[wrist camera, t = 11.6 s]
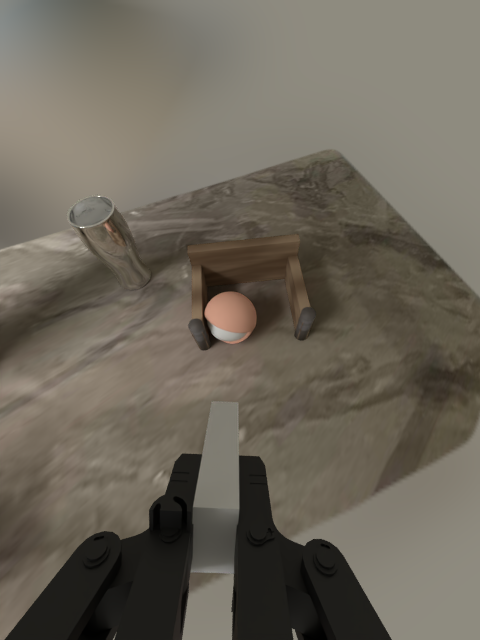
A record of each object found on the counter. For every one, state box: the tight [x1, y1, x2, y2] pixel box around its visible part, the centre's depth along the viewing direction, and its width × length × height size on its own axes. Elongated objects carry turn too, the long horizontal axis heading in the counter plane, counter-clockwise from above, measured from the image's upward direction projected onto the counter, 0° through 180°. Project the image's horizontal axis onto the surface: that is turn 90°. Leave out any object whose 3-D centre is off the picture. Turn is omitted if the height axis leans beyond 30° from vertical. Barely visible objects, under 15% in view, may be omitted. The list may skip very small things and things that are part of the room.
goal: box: [188, 234, 316, 350], centre depth 41 cm, size 14×18×9 cm
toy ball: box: [204, 291, 257, 344], centre depth 40 cm, size 8×8×8 cm
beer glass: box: [67, 195, 151, 290], centre depth 43 cm, size 7×7×15 cm
